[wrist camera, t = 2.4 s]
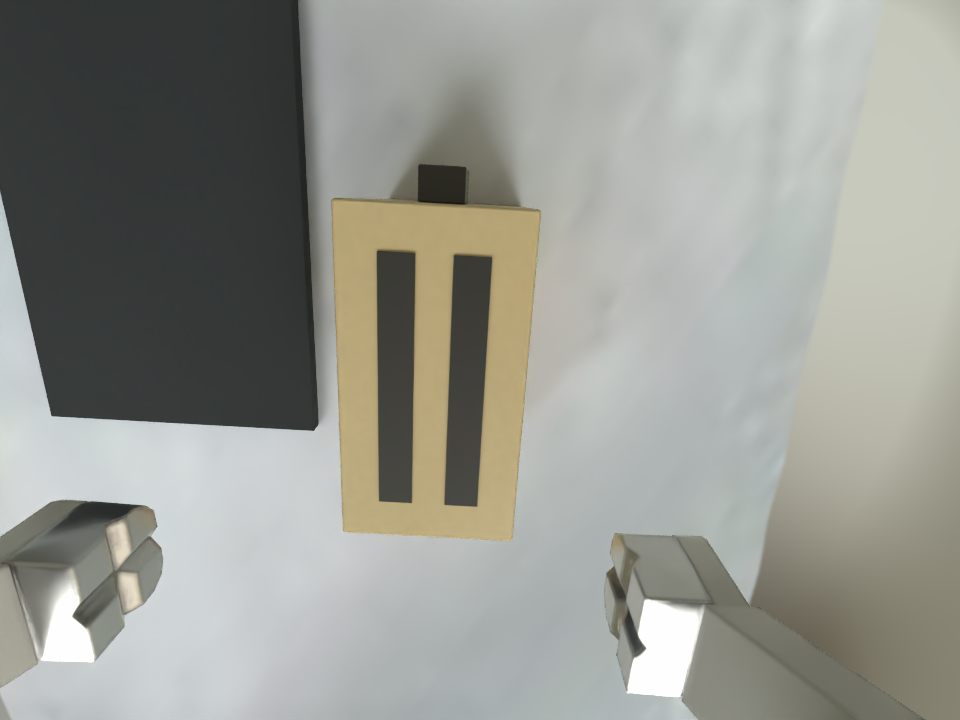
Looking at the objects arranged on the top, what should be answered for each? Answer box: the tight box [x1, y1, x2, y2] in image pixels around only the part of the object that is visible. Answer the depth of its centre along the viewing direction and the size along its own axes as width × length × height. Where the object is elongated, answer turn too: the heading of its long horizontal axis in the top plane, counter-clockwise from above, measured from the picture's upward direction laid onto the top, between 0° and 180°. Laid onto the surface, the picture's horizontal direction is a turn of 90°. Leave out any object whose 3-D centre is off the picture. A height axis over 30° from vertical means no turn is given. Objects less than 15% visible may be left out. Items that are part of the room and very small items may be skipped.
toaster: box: [331, 164, 541, 541], centre depth 21 cm, size 13×6×9 cm, turn 177°
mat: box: [0, 0, 318, 431], centre depth 24 cm, size 20×14×1 cm
